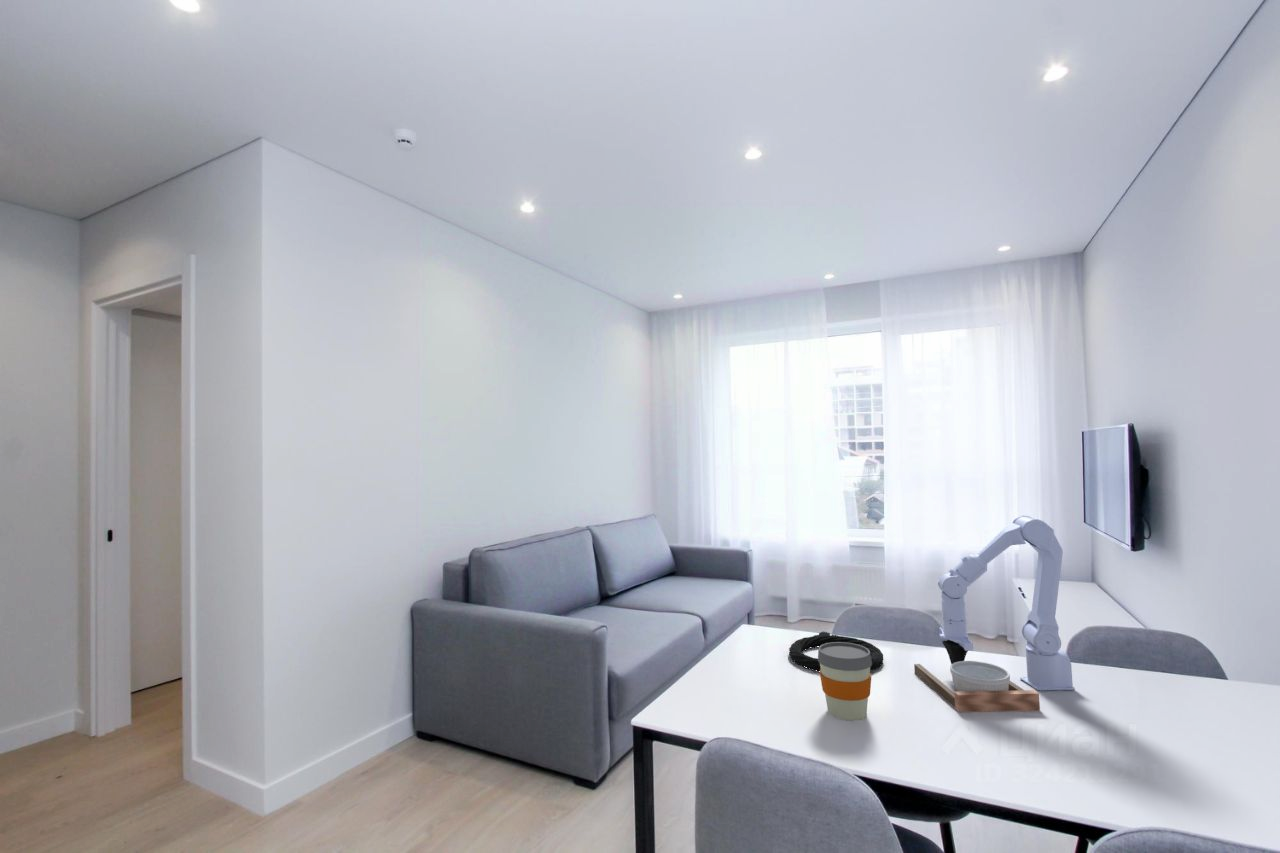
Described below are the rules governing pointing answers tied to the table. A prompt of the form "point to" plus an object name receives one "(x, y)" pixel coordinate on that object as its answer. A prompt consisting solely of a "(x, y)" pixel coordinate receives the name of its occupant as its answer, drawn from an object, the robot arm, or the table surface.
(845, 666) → the reusable coffee cup
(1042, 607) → the robot arm
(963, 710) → the wooden serving tray
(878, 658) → the cable lock
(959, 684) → the ramekin
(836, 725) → the table surface
